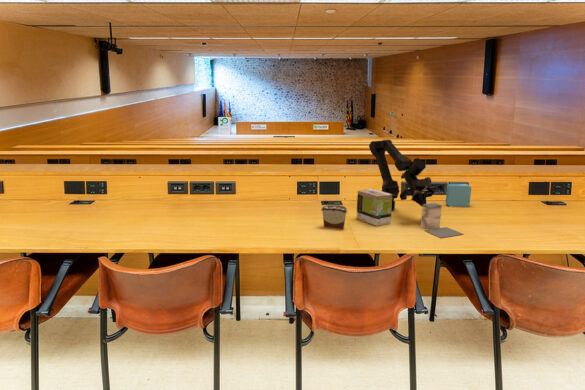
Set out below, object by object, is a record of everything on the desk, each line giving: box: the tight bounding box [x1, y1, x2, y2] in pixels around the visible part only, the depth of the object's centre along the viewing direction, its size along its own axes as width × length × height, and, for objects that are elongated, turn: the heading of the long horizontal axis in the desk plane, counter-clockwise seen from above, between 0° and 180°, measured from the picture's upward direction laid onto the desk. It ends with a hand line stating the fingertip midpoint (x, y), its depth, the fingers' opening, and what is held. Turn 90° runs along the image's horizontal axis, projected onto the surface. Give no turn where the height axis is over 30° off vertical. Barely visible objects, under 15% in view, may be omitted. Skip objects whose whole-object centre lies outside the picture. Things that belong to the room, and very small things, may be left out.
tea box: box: [356, 188, 393, 227], centre depth 220 cm, size 15×10×15 cm, turn 31°
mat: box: [423, 226, 464, 239], centre depth 205 cm, size 11×13×1 cm
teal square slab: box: [445, 183, 472, 208], centre depth 249 cm, size 12×4×12 cm, turn 86°
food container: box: [321, 204, 348, 230], centre depth 212 cm, size 12×6×10 cm, turn 71°
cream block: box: [420, 202, 443, 230], centre depth 212 cm, size 5×7×11 cm
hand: (425, 208), depth 214 cm, fingers closed
